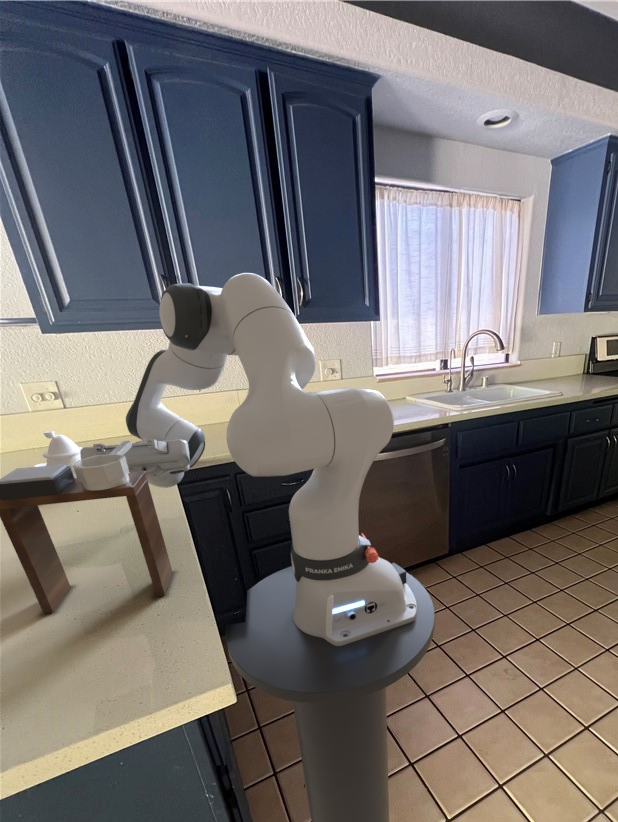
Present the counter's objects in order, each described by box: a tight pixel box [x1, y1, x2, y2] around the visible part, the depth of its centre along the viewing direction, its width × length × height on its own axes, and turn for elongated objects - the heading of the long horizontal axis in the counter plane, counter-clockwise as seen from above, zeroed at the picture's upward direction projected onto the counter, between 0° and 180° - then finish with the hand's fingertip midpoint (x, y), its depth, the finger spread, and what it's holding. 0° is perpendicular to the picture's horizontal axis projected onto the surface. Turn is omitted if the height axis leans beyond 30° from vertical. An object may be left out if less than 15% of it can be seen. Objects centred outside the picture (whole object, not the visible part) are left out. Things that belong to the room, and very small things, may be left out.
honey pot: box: [42, 430, 83, 478], centre depth 128 cm, size 13×13×18 cm
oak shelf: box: [0, 472, 174, 615], centre depth 77 cm, size 20×8×22 cm, turn 104°
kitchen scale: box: [0, 464, 75, 500], centre depth 70 cm, size 8×7×3 cm
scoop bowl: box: [73, 440, 132, 491], centre depth 77 cm, size 7×19×4 cm, turn 14°
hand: (124, 445), depth 83 cm, fingers open, 8 cm apart
